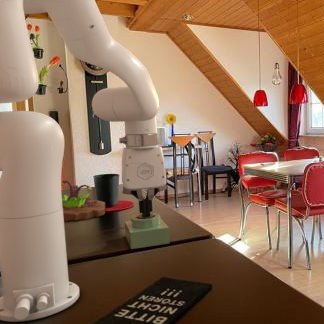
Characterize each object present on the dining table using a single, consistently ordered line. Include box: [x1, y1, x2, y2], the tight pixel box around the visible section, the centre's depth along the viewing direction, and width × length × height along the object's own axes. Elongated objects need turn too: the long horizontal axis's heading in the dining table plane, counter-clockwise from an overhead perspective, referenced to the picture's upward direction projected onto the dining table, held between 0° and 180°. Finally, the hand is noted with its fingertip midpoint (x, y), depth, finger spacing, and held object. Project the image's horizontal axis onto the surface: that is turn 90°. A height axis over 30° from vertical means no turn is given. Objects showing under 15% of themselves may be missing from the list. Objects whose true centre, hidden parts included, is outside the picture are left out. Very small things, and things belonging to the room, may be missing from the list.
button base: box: [124, 212, 171, 250], centre depth 96 cm, size 11×9×6 cm
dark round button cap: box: [137, 213, 154, 219], centre depth 96 cm, size 4×4×2 cm
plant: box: [61, 180, 106, 222], centre depth 125 cm, size 20×20×11 cm
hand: (146, 215), depth 96 cm, fingers closed
